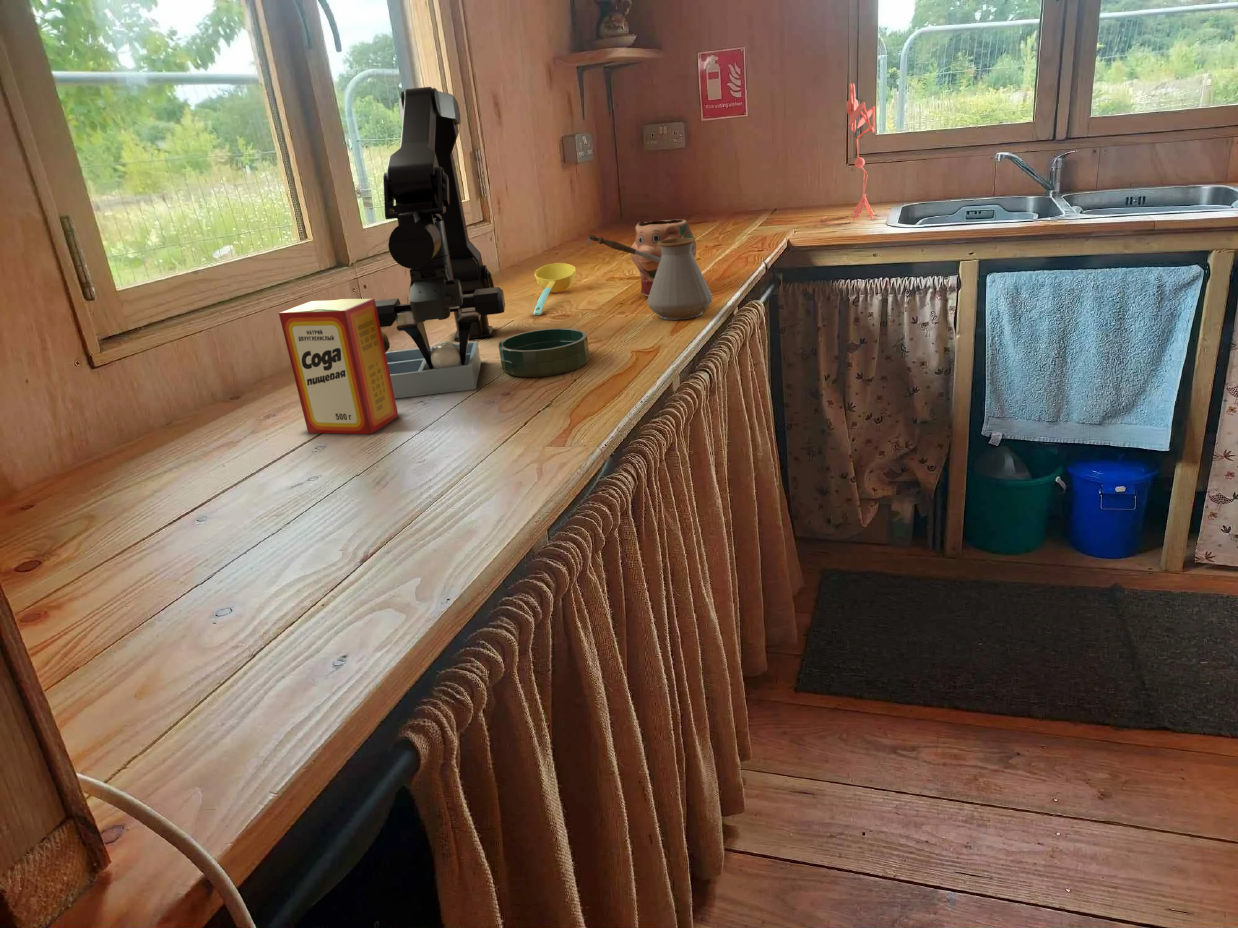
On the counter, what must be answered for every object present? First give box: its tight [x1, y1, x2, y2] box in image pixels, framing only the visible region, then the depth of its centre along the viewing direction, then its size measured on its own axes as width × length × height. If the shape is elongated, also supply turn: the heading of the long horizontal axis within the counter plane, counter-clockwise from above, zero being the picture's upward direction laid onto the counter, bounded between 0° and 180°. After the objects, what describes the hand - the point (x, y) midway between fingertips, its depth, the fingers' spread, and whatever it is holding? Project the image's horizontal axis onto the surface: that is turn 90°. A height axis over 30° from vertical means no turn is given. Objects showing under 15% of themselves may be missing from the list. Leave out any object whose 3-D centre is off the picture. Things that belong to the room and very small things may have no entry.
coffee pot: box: [585, 234, 714, 321], centre depth 152 cm, size 21×12×15 cm, turn 81°
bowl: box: [498, 327, 590, 378], centre depth 131 cm, size 13×13×4 cm
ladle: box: [532, 262, 577, 316], centre depth 177 cm, size 9×26×6 cm, turn 174°
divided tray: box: [386, 341, 482, 400], centre depth 129 cm, size 15×15×3 cm
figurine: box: [821, 82, 876, 224], centre depth 238 cm, size 15×26×35 cm, turn 165°
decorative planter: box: [630, 218, 697, 297], centre depth 171 cm, size 20×12×14 cm, turn 162°
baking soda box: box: [278, 298, 399, 435], centre depth 111 cm, size 10×6×16 cm
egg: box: [431, 341, 461, 369], centre depth 125 cm, size 5×4×4 cm
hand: (447, 366), depth 126 cm, fingers closed on egg, 4 cm apart
